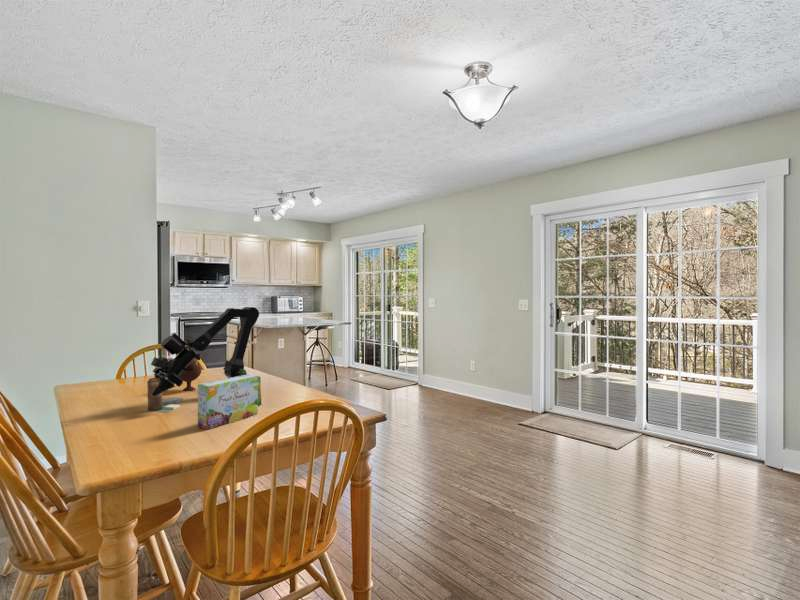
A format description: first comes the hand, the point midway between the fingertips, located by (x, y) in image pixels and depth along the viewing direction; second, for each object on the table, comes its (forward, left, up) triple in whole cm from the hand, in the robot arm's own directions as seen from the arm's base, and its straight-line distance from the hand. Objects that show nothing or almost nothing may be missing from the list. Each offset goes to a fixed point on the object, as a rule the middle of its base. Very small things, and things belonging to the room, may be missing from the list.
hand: (150, 394), depth 167 cm
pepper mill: (-1, -1, -6) cm, 6 cm away
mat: (-3, -3, -7) cm, 8 cm away
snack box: (-37, +5, -7) cm, 38 cm away
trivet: (+3, -13, -7) cm, 15 cm away
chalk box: (-31, -15, -7) cm, 35 cm away
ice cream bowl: (+9, -33, -7) cm, 35 cm away
